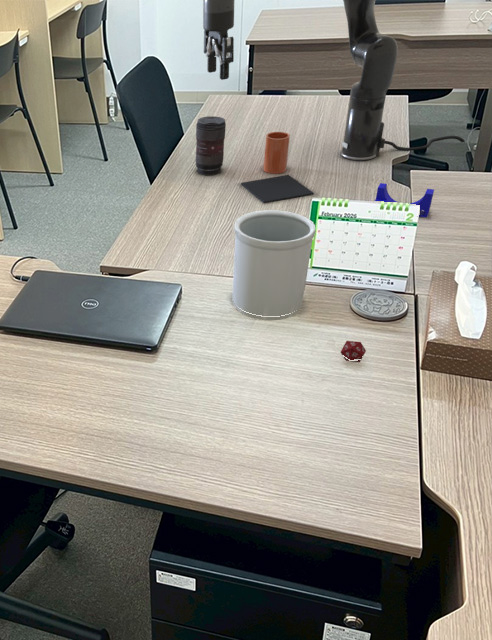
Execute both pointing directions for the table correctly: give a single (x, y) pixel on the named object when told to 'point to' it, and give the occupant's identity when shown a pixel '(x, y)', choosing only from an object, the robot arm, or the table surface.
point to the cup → (276, 152)
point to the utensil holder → (271, 263)
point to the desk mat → (276, 188)
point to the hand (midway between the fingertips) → (217, 75)
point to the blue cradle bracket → (423, 202)
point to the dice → (353, 350)
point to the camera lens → (210, 144)
